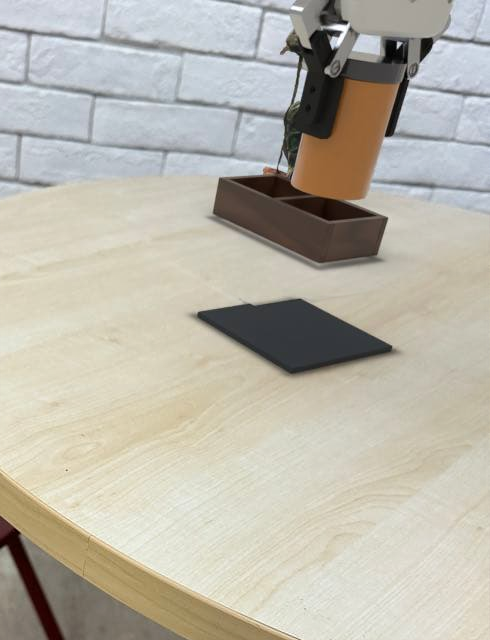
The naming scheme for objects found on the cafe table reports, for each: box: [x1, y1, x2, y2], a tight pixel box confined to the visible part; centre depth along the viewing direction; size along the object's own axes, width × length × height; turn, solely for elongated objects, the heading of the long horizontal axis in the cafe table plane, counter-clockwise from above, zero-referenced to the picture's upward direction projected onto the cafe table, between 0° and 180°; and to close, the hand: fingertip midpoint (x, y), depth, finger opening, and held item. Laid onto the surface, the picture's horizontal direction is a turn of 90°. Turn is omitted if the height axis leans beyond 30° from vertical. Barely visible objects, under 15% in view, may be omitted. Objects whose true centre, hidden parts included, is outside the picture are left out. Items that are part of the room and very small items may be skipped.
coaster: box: [196, 297, 393, 374], centre depth 74 cm, size 12×12×1 cm
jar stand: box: [212, 174, 389, 264], centre depth 96 cm, size 9×18×5 cm, turn 33°
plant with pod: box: [262, 27, 303, 179], centre depth 107 cm, size 8×11×20 cm
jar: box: [291, 48, 407, 201], centre depth 64 cm, size 6×6×9 cm
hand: (344, 131), depth 64 cm, fingers closed on jar, 6 cm apart
